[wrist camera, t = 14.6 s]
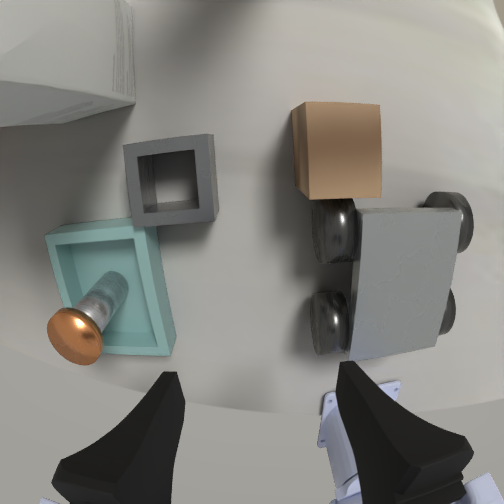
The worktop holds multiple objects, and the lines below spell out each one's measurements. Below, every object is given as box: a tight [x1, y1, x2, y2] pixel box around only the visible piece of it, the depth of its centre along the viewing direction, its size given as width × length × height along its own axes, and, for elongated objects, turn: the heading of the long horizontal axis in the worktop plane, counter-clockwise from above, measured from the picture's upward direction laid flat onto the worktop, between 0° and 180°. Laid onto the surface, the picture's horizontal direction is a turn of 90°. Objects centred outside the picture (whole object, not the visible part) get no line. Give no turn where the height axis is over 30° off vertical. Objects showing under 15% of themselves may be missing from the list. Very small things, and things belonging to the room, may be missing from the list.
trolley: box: [310, 192, 474, 361], centre depth 20 cm, size 11×11×5 cm
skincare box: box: [0, 0, 136, 127], centre depth 9 cm, size 8×7×16 cm
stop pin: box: [47, 271, 129, 365], centre depth 18 cm, size 4×4×7 cm
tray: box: [44, 217, 176, 356], centre depth 21 cm, size 10×8×2 cm
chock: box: [291, 102, 382, 200], centre depth 17 cm, size 5×4×5 cm
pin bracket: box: [123, 134, 219, 228], centre depth 18 cm, size 5×5×3 cm
